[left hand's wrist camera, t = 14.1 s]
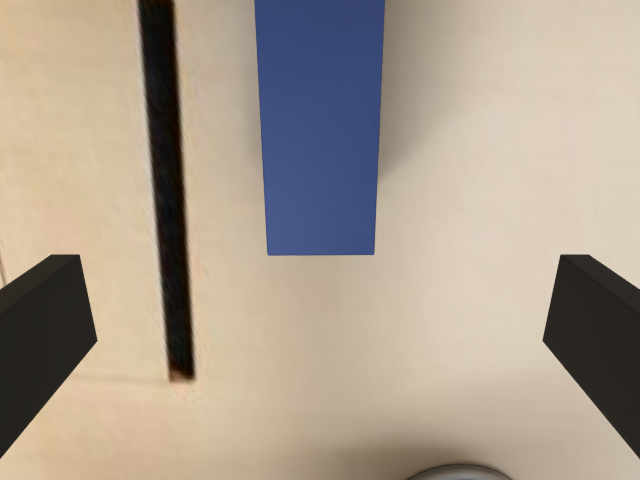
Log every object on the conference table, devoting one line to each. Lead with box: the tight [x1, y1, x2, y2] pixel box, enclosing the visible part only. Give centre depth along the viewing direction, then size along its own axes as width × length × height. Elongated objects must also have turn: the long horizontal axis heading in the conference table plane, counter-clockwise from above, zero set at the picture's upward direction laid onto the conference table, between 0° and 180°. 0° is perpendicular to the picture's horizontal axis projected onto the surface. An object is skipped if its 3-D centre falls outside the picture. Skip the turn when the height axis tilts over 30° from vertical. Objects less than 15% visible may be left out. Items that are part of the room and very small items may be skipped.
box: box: [254, 0, 385, 255], centre depth 26 cm, size 22×6×11 cm, turn 0°
